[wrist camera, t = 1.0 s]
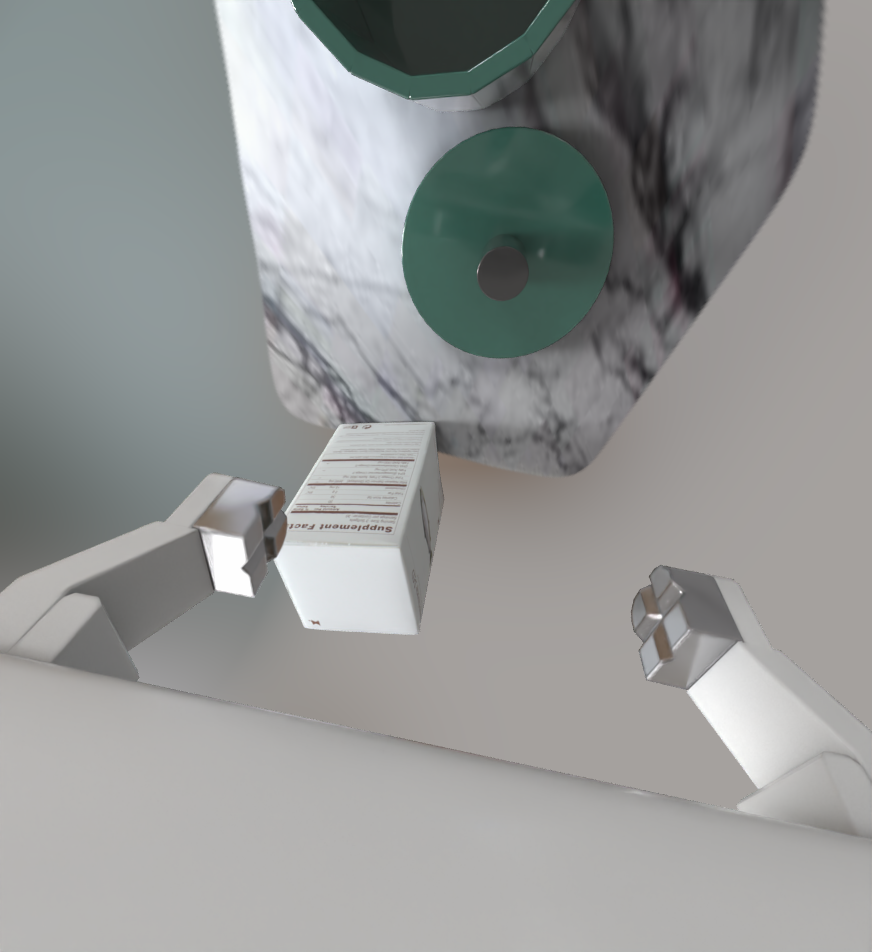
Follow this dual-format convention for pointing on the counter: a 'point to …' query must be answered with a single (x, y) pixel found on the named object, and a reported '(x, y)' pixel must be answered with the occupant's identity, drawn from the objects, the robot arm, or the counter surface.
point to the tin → (440, 44)
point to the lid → (507, 242)
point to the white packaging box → (365, 530)
